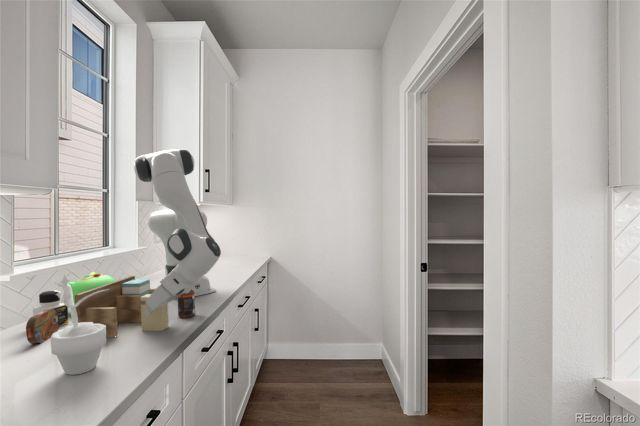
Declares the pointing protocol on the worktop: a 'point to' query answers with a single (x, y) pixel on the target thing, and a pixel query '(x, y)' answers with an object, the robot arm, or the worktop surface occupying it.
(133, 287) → the teal tall rectangular block
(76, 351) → the potted plant
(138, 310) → the pantry shelf
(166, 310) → the book box
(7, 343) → the worktop surface
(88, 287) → the toy bird
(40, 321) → the tin
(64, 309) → the medicine bottle
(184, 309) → the supplement bottle
